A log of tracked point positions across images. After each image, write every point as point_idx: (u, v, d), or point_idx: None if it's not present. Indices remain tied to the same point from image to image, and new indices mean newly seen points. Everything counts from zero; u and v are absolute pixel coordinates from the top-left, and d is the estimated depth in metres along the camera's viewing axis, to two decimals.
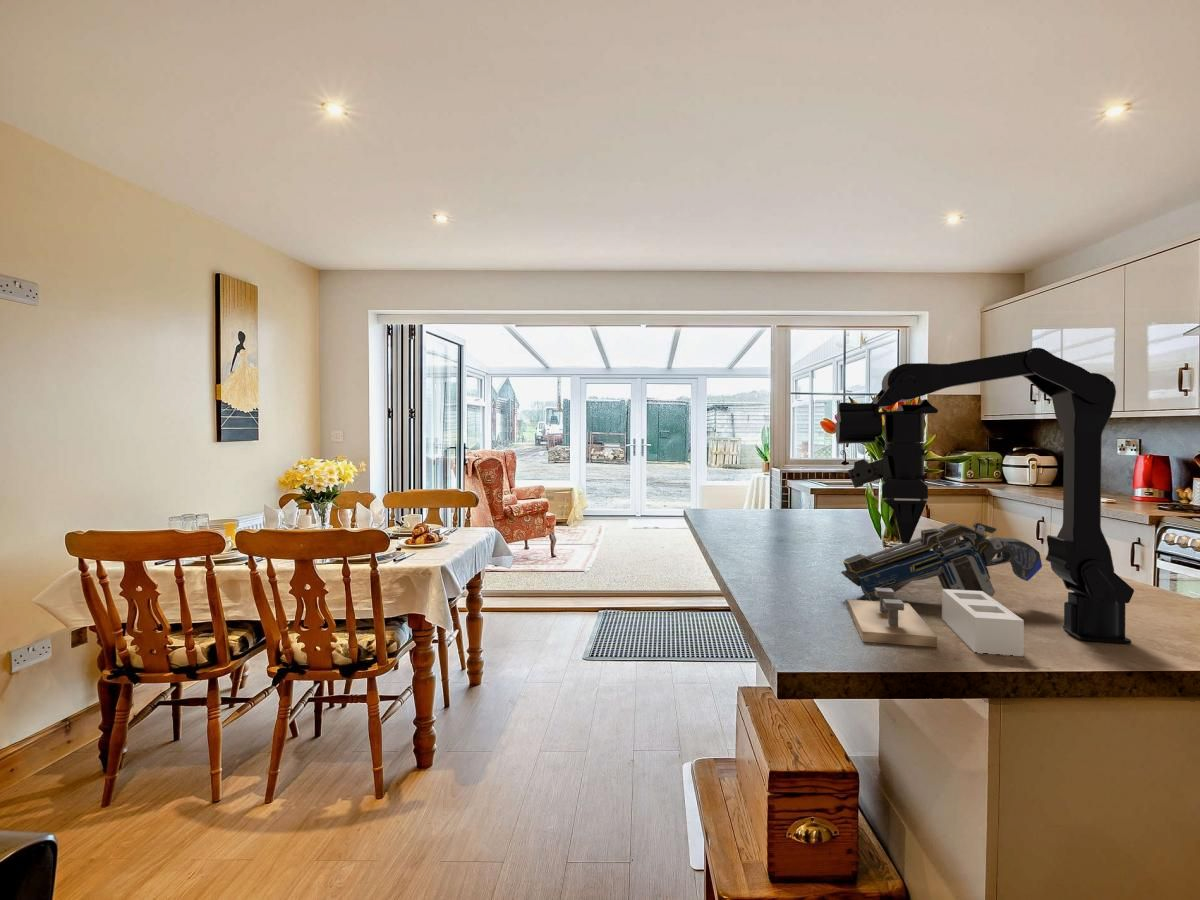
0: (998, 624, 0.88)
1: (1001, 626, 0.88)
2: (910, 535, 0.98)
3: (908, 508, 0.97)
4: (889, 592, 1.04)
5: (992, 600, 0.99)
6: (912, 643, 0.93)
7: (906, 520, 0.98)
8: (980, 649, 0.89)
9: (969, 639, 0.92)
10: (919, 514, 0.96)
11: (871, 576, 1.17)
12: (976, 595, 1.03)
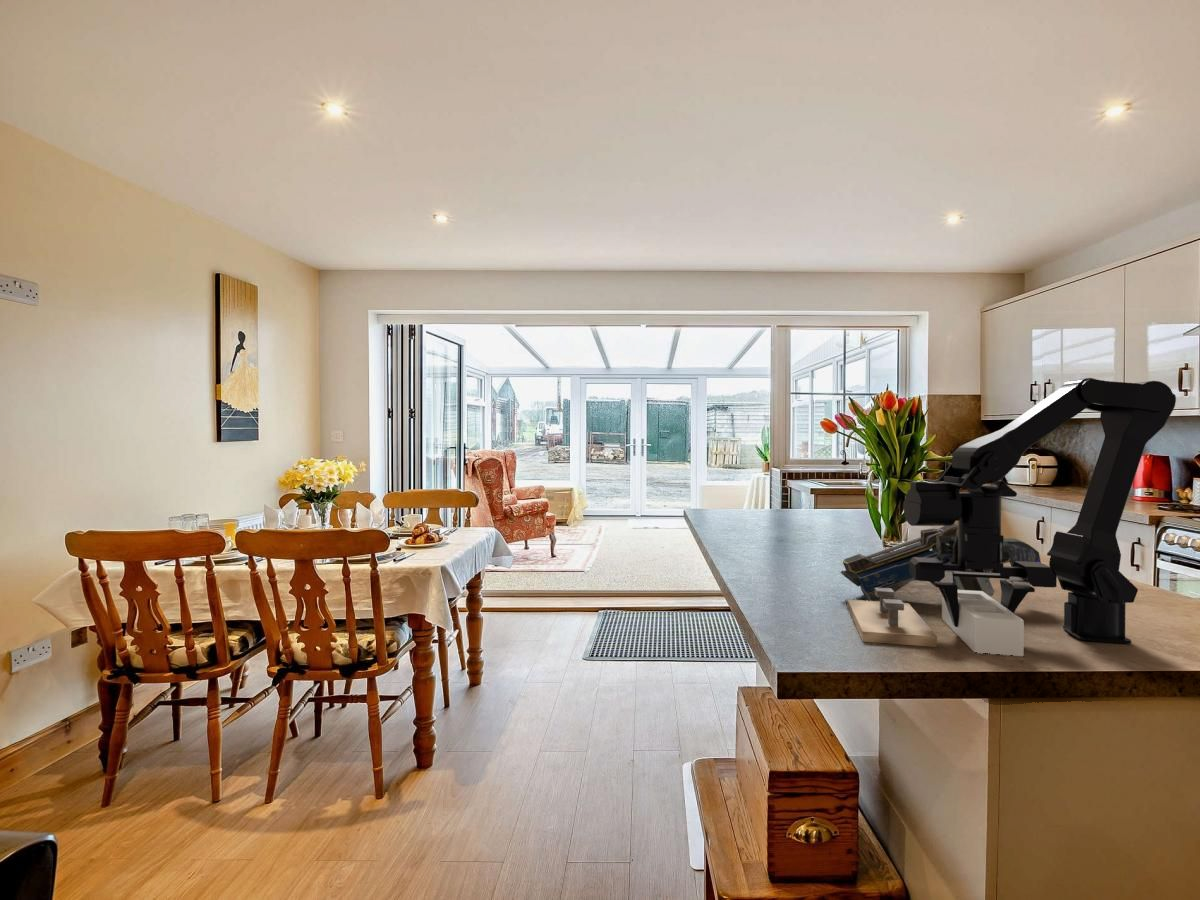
0: (998, 624, 0.88)
1: (1001, 626, 0.88)
2: (952, 618, 0.97)
3: None
4: (889, 592, 1.04)
5: (992, 600, 0.99)
6: (912, 643, 0.93)
7: (947, 602, 0.98)
8: (980, 649, 0.89)
9: (969, 639, 0.92)
10: (947, 598, 0.96)
11: (871, 576, 1.17)
12: (976, 595, 1.03)
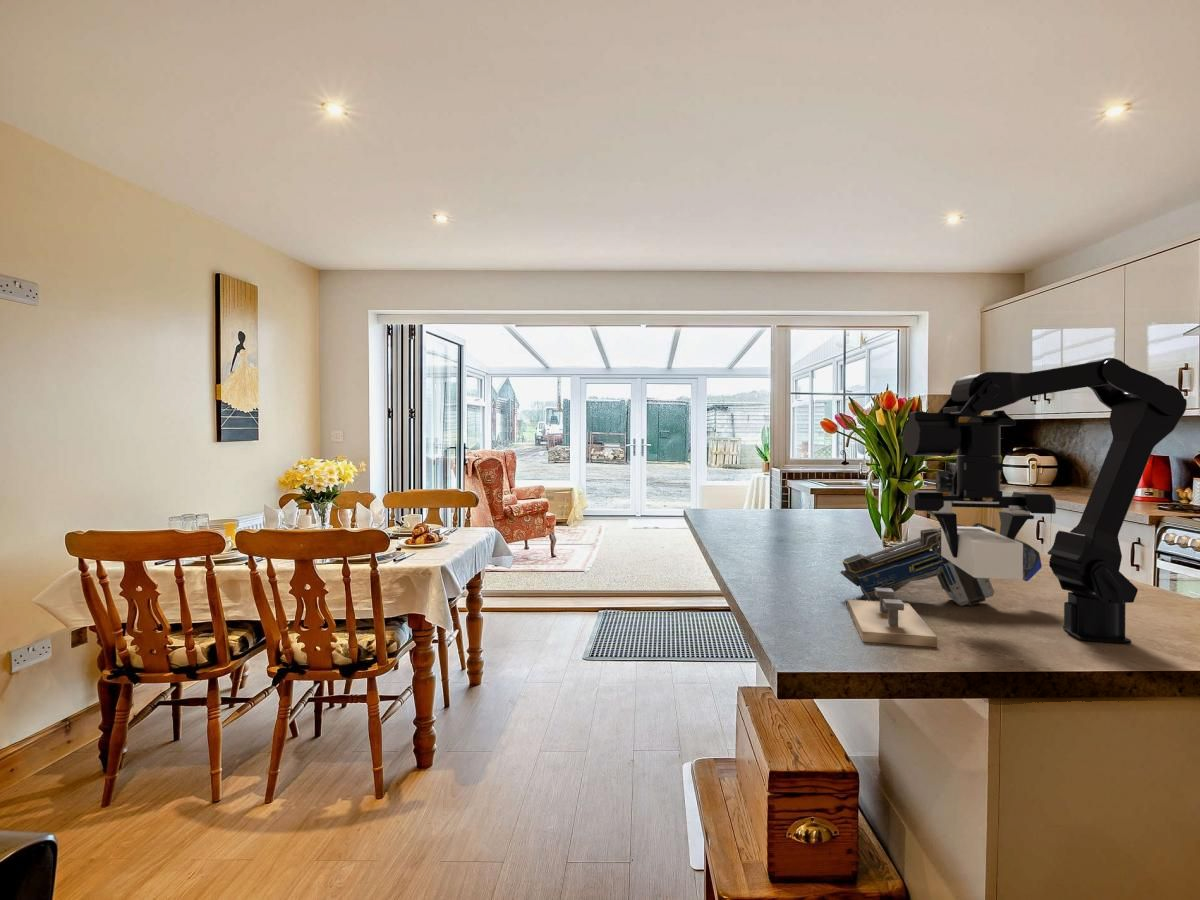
0: (997, 548, 0.88)
1: (1000, 550, 0.88)
2: (952, 549, 0.97)
3: None
4: (889, 592, 1.04)
5: (991, 532, 0.99)
6: (912, 643, 0.93)
7: (946, 533, 0.98)
8: (979, 573, 0.89)
9: (968, 566, 0.92)
10: (946, 527, 0.96)
11: (870, 576, 1.17)
12: (975, 530, 1.03)
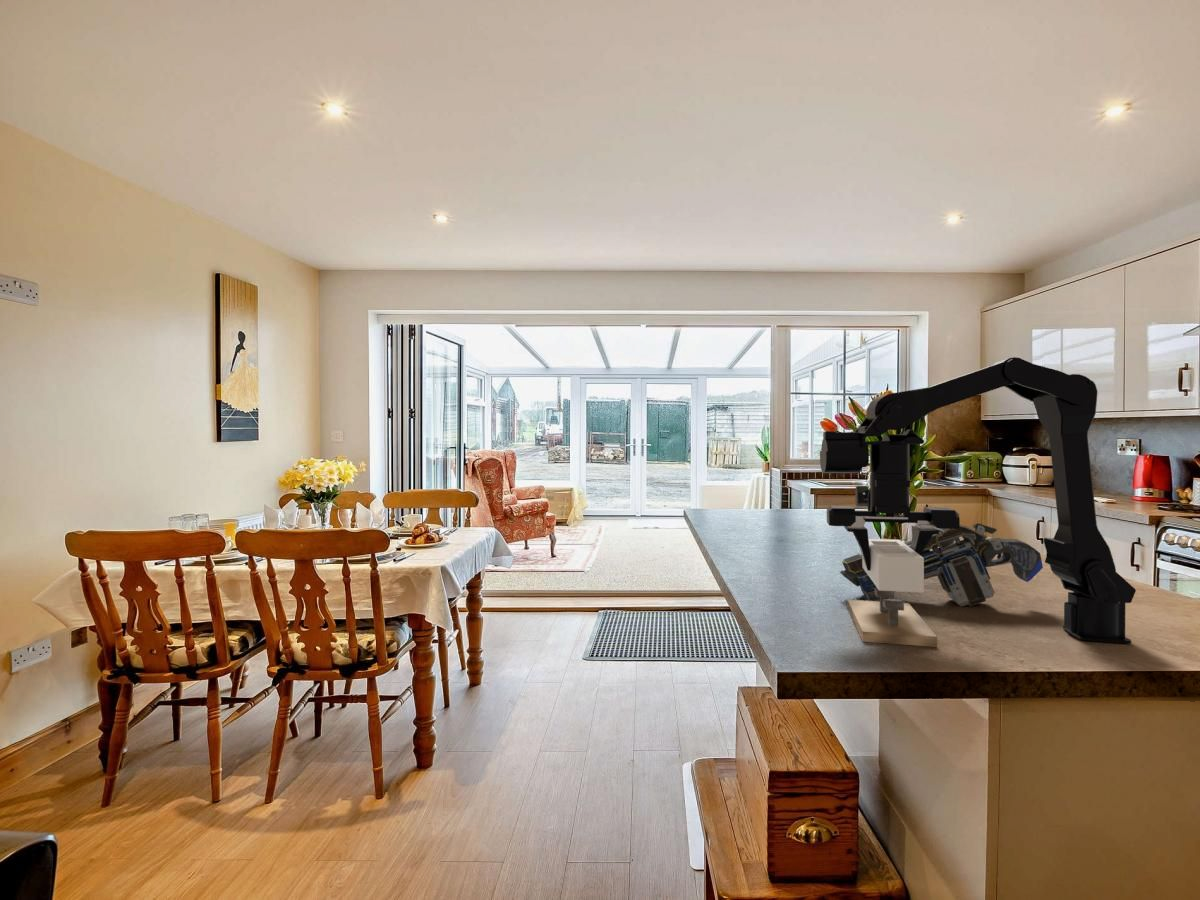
0: (900, 562, 0.93)
1: (902, 564, 0.92)
2: (865, 562, 1.02)
3: None
4: (889, 592, 1.04)
5: (904, 545, 1.03)
6: (912, 643, 0.93)
7: (860, 547, 1.02)
8: (884, 587, 0.93)
9: (876, 579, 0.96)
10: (858, 542, 1.01)
11: None
12: (892, 543, 1.07)
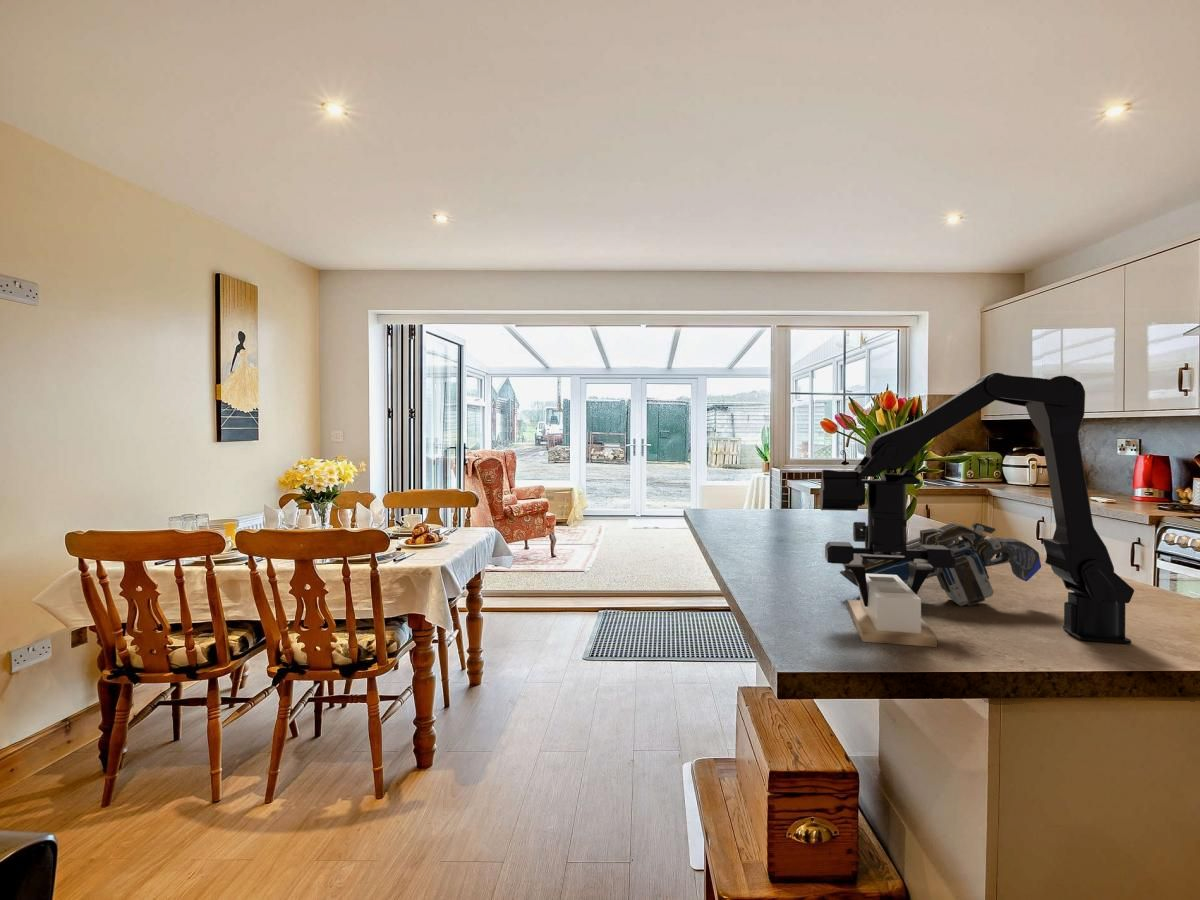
0: (897, 603, 0.94)
1: (900, 605, 0.94)
2: (862, 598, 1.04)
3: None
4: None
5: (901, 582, 1.04)
6: (912, 643, 0.93)
7: (858, 583, 1.04)
8: (882, 627, 0.95)
9: (874, 618, 0.97)
10: (856, 579, 1.03)
11: None
12: (890, 578, 1.09)
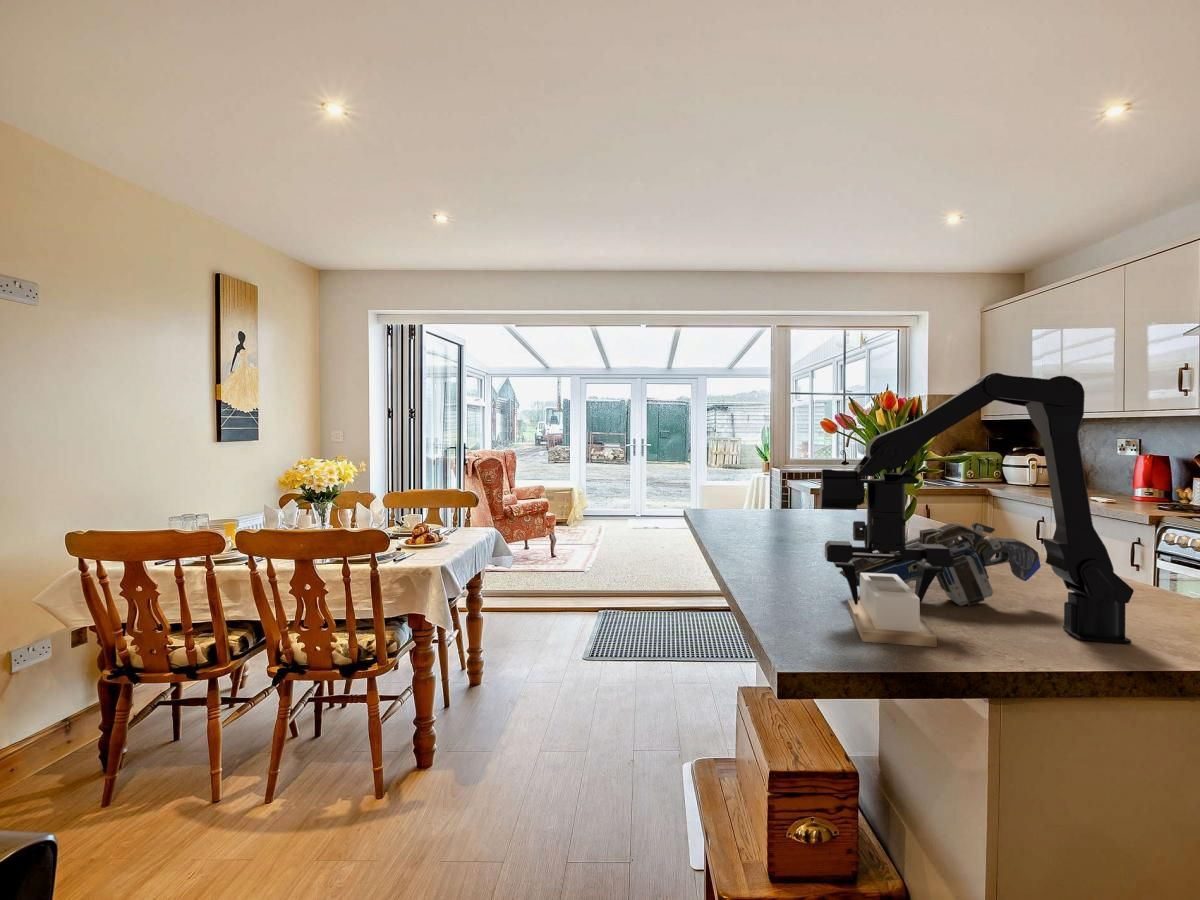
0: (896, 602, 0.95)
1: (899, 604, 0.95)
2: None
3: None
4: None
5: (901, 582, 1.05)
6: (912, 643, 0.93)
7: None
8: (880, 625, 0.95)
9: (873, 617, 0.98)
10: (846, 577, 1.04)
11: None
12: (889, 578, 1.09)
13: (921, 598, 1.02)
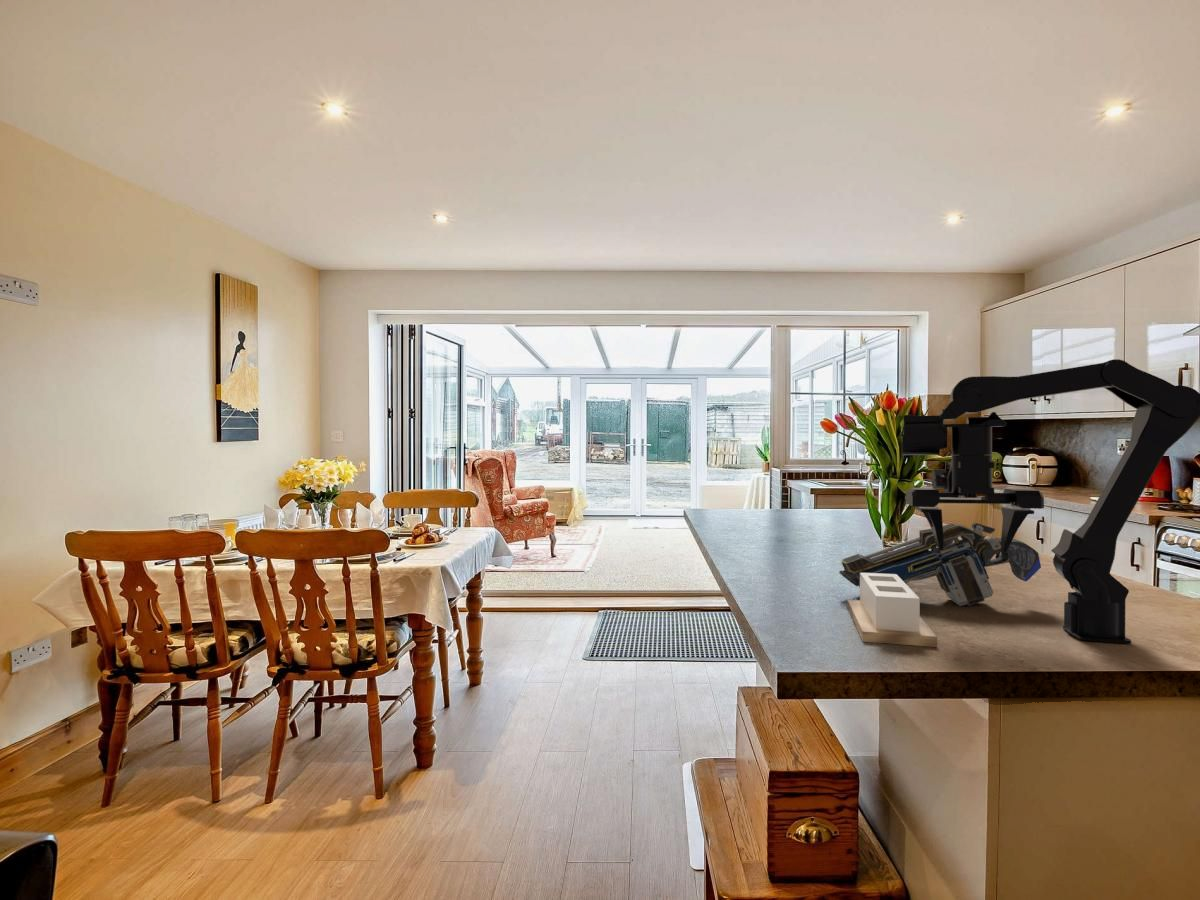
0: (896, 602, 0.95)
1: (899, 604, 0.95)
2: (938, 542, 1.04)
3: None
4: None
5: (901, 582, 1.05)
6: (912, 643, 0.93)
7: (933, 527, 1.05)
8: (880, 625, 0.95)
9: (873, 617, 0.98)
10: (932, 522, 1.03)
11: None
12: (889, 578, 1.09)
13: (1009, 541, 1.01)
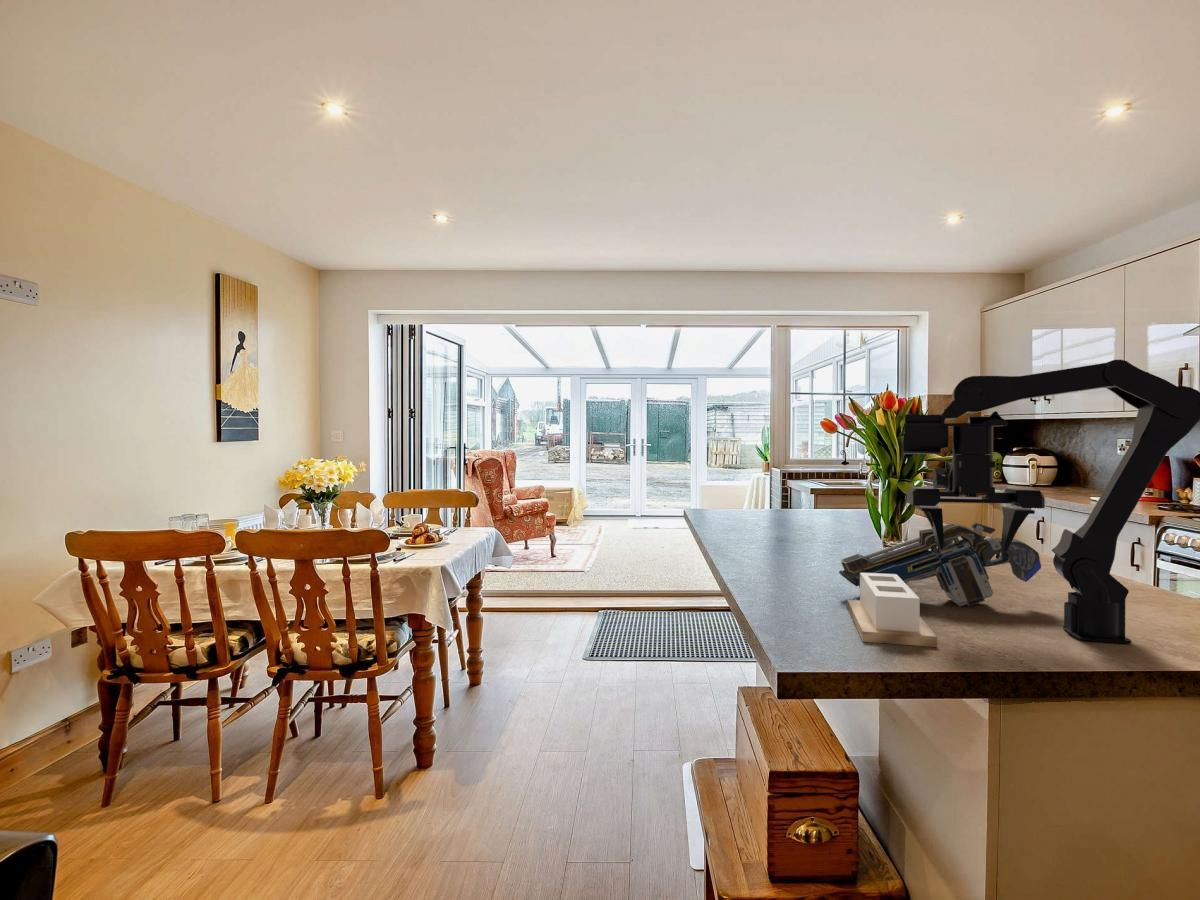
0: (896, 602, 0.95)
1: (899, 604, 0.95)
2: (938, 541, 1.04)
3: None
4: None
5: (901, 582, 1.05)
6: (912, 643, 0.93)
7: (933, 526, 1.05)
8: (880, 625, 0.95)
9: (873, 617, 0.98)
10: (932, 521, 1.03)
11: None
12: (889, 578, 1.09)
13: (1010, 541, 1.01)
